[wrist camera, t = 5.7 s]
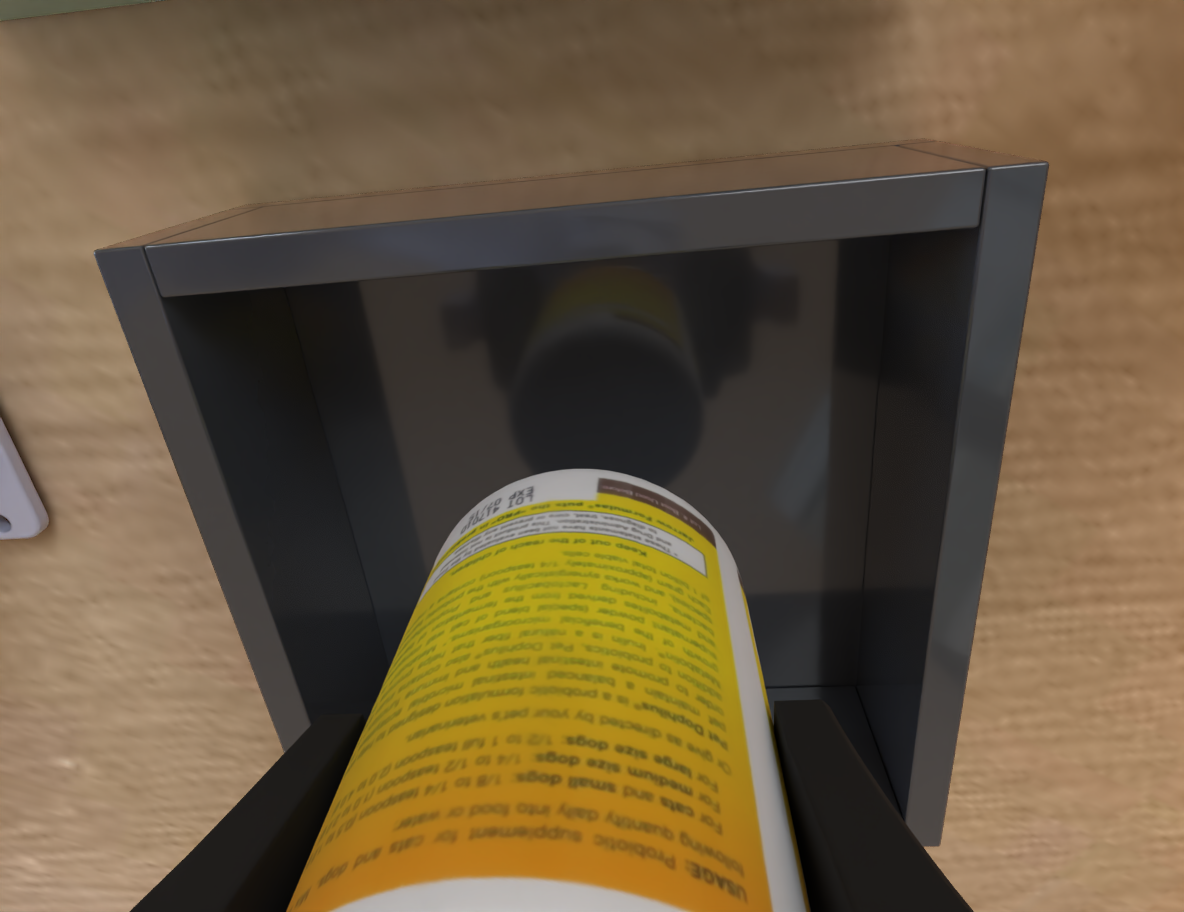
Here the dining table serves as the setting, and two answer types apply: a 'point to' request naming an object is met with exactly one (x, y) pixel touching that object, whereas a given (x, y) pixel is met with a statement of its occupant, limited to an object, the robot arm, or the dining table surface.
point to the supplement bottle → (568, 724)
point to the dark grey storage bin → (611, 404)
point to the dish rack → (56, 7)
